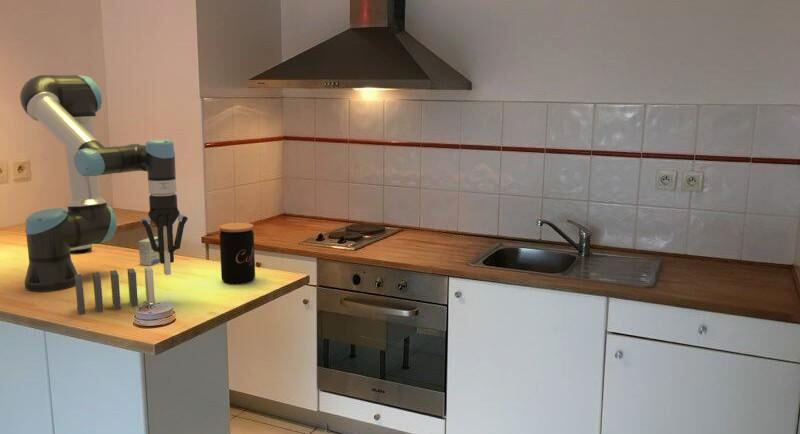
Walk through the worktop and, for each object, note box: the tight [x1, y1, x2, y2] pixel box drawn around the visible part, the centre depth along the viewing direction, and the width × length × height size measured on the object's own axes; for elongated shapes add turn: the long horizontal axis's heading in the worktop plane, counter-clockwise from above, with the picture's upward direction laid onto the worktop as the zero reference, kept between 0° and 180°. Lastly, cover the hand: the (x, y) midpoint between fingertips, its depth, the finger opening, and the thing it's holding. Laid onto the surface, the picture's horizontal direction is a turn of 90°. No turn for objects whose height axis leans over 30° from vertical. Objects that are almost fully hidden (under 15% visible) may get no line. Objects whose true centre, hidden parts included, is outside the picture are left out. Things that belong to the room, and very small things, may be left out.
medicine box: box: [137, 236, 160, 266], centre depth 245 cm, size 8×4×9 cm, turn 169°
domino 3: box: [109, 269, 122, 310], centre depth 197 cm, size 2×5×10 cm, turn 29°
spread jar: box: [70, 244, 93, 254], centre depth 259 cm, size 12×11×12 cm
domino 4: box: [126, 267, 139, 308], centre depth 199 cm, size 2×5×10 cm, turn 29°
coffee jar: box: [219, 222, 256, 286], centre depth 223 cm, size 11×11×18 cm
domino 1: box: [74, 273, 86, 315], centre depth 193 cm, size 2×5×10 cm, turn 28°
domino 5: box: [143, 265, 156, 305], centre depth 201 cm, size 2×5×10 cm, turn 28°
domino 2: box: [92, 271, 104, 313], centre depth 195 cm, size 2×5×10 cm, turn 28°
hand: (167, 273), depth 203 cm, fingers closed
